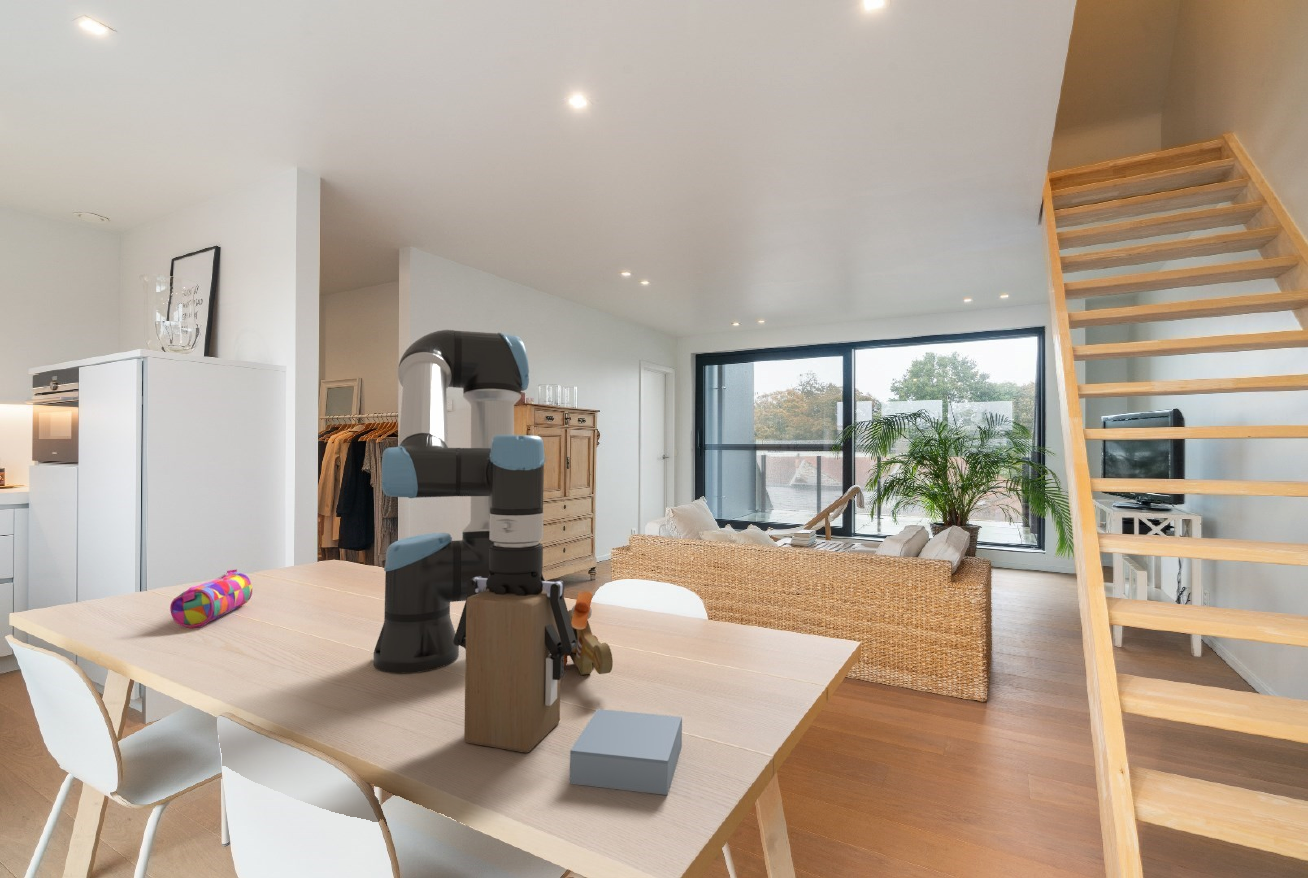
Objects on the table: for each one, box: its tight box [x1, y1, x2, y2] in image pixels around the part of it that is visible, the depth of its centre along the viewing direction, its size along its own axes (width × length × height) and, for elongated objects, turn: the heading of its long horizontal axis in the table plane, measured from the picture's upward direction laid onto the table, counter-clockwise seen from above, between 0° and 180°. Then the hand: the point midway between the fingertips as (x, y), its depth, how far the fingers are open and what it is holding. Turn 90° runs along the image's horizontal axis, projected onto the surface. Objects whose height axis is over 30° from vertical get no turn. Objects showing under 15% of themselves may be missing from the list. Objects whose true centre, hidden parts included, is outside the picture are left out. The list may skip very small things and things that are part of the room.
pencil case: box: [169, 568, 253, 629], centre depth 144 cm, size 22×9×9 cm, turn 14°
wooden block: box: [463, 589, 561, 754], centre depth 87 cm, size 10×10×20 cm
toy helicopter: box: [564, 590, 614, 675], centre depth 109 cm, size 8×21×14 cm, turn 25°
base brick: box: [569, 708, 683, 796], centre depth 79 cm, size 12×12×4 cm
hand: (514, 698), depth 87 cm, fingers closed on wooden block, 10 cm apart
